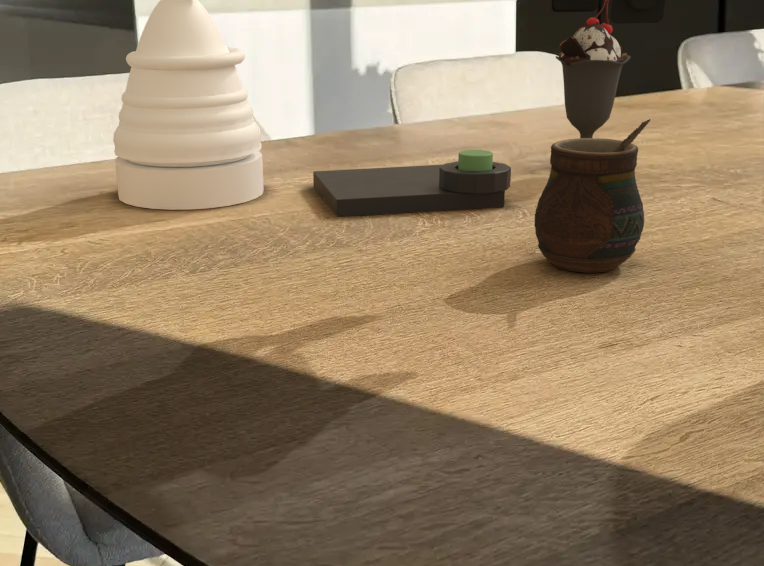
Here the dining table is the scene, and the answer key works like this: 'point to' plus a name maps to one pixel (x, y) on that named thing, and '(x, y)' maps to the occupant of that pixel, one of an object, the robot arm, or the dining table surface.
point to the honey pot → (186, 117)
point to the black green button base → (412, 189)
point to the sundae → (591, 74)
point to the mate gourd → (590, 204)
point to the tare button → (475, 160)
